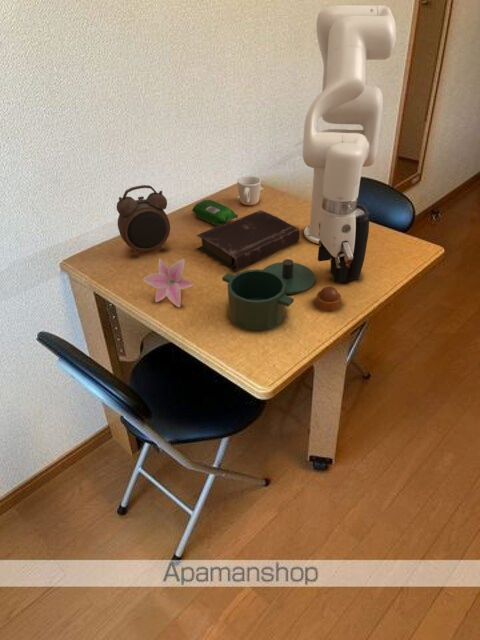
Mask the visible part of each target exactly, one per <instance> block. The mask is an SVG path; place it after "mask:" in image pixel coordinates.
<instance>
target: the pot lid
mask: <svg viewBox="0 0 480 640" xmlns="http://www.w3.org/2000/svg"><path fill="white" fill-rule="evenodd" d="M262 270H267V271H270V272H273V273H276V274H278V275H279V276H280V277H281V278H283V279H284V281H285V284H286V295H287V294H288V295H291V294H292V295H293V294H294V295H295V294H299V293H303V292H305V291H307V290H309V289H310V288H312V287H313V285H314V284H315V281H316V277H315V276H316V275H315V273H314V272H313V270H312V269H310V268H309V267H308V266H306V265H303V264H300V263H298V262H294V260H293V259H290V258H289V259H287V258H286V259H284V260H282V261H280V262H275V263H272V264H269V265H267V266H266V267H264V268H263V269H262Z"/></svg>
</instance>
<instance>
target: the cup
mask: <svg viewBox="0 0 480 640" xmlns="http://www.w3.org/2000/svg"><path fill="white" fill-rule="evenodd" d="M261 185H262V179H261V178H260V177H258V176H254V175H244V176H242V177H239V178H238V179H237V190H238V198H239V201H240V204H242V205H244V206H254V205H257V204H258V202H259V200H260V196H261V195H260V194H261V187H262V186H261Z"/></svg>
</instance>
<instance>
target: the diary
mask: <svg viewBox="0 0 480 640" xmlns="http://www.w3.org/2000/svg"><path fill="white" fill-rule="evenodd" d="M196 237H199V238H200V239H201V246H199V247H197V249H198V250H200V252H203V253H205V255H208V257H211V258H212V259H214V260H215V261H217V262H219V263H220V264H222V265H224V266H225V267H227V268H229V269H231V270H232V271H234V272H238V271H240V270H242V269H243V268H245V267H247V266H249V265H251V264H253V263H256V262H258V261H260V260H262V259H265V258H267V257H269V256H271V255H273V254H275V253H276V252H277V253H278V251H280V250H282V249H284V248H288V247H289V246H291V245H294V244H296V243H299V241H300V237H301V230H300V228H299V227H297V226H294V225H293V224H291V223H289V222H287V221H285V220H283V219H281V218H279V217H278V216H275V215H274V214H271V213H269V212H266V211H264V210H260V209H259V210H257V211H255V212H252V213H249V214H248V215H244V216H242V217H240V218H237V219H235V220H232V221H229V222H226V223H224V224H223V225H221V226H215V227H212V228H209V229H207V230H205V231H203V232H200V233H198V234H197V235H196Z"/></svg>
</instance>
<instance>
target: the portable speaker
mask: <svg viewBox="0 0 480 640" xmlns="http://www.w3.org/2000/svg"><path fill="white" fill-rule="evenodd" d="M355 217H356V232H355V245H354V253H353V260H352V262H351V265H350V267H348V274H347V280H346V281H342V282H339V284H347V283H349V282H351V281H354V280H357V281H358V280H360V276H361V273H362V269H363V266H364V261H365V257H366V252H367V244H368V240H369V232H370V217H371V212H370V211H369V210H368V209H367V207H366V206H365V205H364V204H361V203H358V202H357V207H356V212H355ZM338 254H343V251H341V252H339V253H338ZM339 259H340V262H342V261H344V257H339ZM329 261H330V273H331V276H332V277H333V276H334V268H335V267H336V261H335V257H333V256H332V255H331V259H330V260H329Z"/></svg>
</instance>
